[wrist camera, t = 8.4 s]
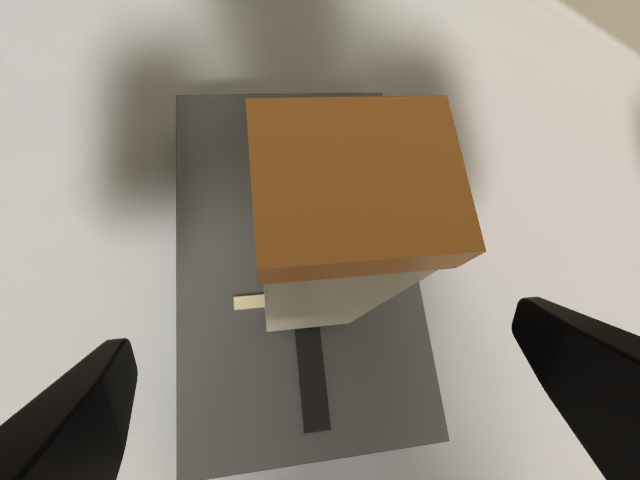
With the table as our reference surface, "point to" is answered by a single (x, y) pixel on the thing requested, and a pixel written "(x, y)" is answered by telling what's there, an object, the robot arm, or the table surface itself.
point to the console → (276, 332)
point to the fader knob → (354, 202)
